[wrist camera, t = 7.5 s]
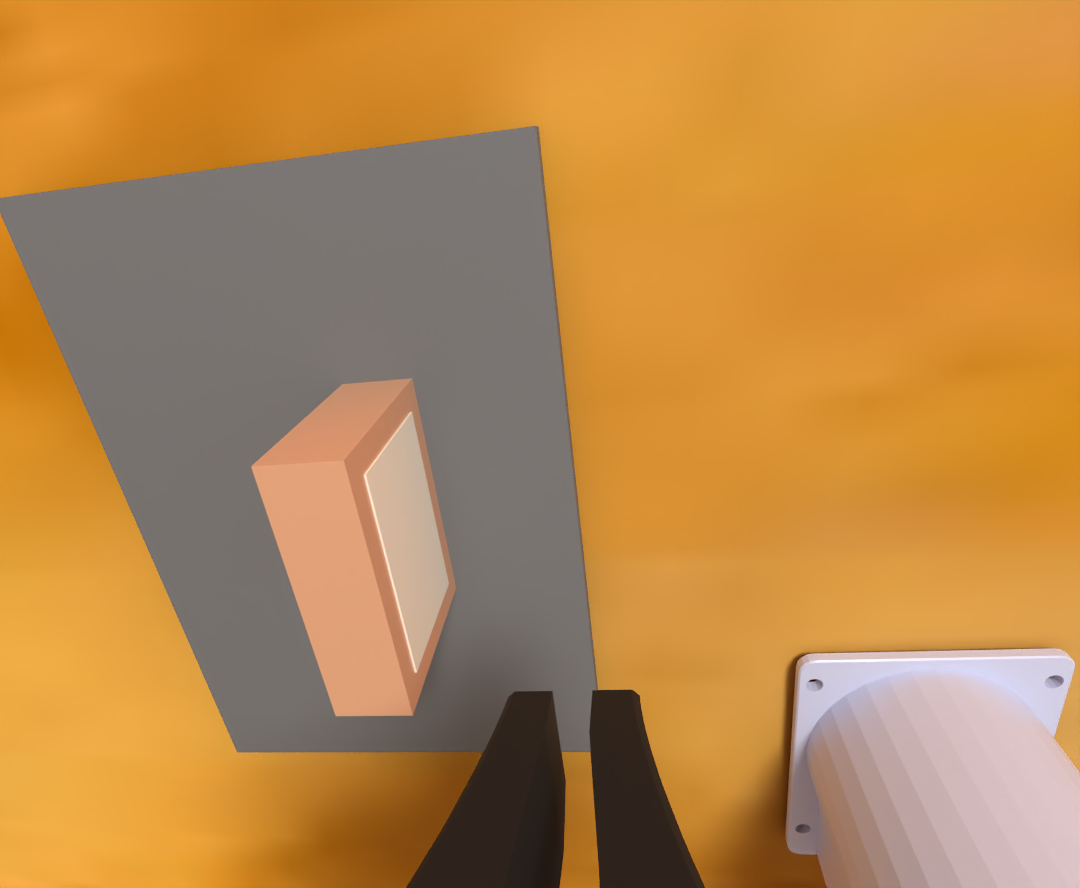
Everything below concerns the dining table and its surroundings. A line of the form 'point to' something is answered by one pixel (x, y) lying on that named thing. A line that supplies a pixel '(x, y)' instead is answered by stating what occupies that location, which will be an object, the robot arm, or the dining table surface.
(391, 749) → the mat
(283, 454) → the tile
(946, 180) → the dining table surface
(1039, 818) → the robot arm
